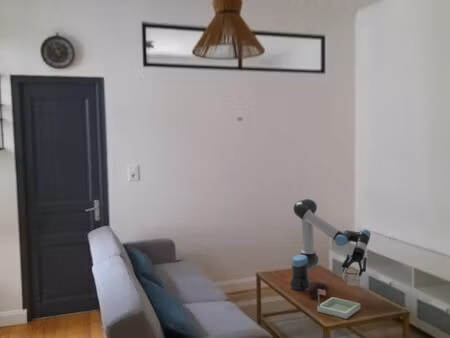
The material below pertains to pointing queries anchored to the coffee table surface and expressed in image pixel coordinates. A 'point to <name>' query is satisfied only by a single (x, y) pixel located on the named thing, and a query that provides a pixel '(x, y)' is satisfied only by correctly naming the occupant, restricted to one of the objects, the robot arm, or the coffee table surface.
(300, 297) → the coffee table surface
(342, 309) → the mint green square tray
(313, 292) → the pine cone
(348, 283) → the teacup with lid
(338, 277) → the coffee table surface
